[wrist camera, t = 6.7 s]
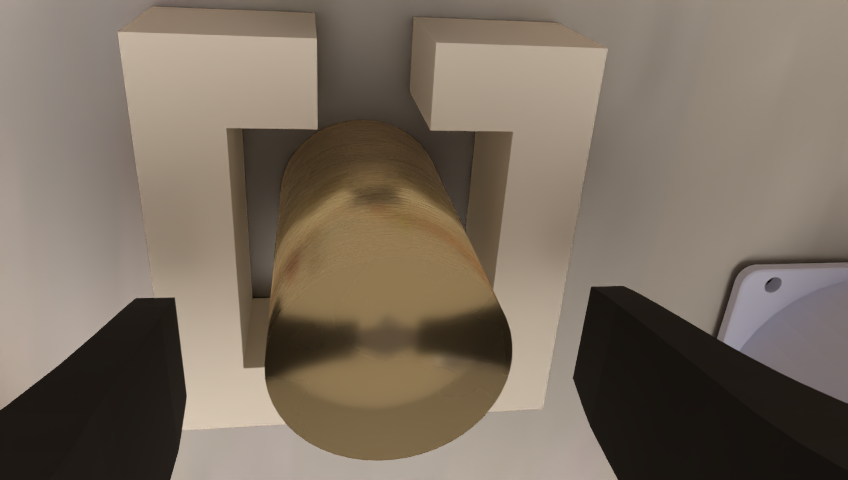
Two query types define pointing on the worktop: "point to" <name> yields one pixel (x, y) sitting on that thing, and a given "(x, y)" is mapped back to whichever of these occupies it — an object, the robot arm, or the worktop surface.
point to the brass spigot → (378, 301)
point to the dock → (297, 109)
